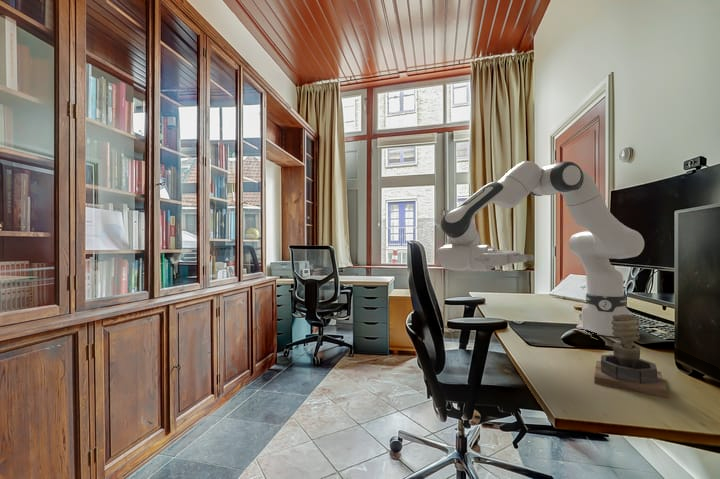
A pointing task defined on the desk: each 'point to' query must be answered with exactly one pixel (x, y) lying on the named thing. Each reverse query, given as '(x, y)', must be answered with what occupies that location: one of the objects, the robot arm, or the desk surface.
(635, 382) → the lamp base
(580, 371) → the desk surface
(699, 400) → the desk surface
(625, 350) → the light bulb
